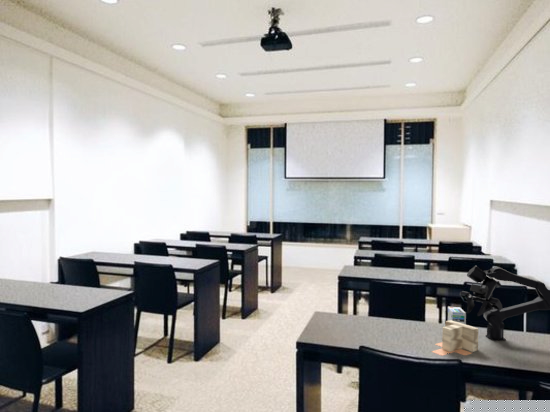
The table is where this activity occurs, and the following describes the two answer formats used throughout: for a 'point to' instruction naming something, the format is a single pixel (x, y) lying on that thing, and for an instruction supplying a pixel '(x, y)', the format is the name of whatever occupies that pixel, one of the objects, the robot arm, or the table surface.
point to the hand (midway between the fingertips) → (472, 314)
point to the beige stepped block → (459, 337)
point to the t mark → (444, 352)
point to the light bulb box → (456, 315)
